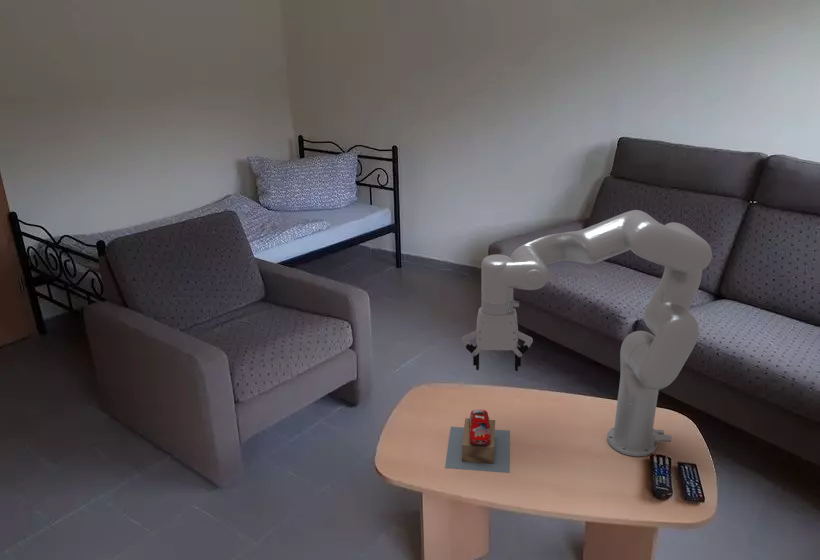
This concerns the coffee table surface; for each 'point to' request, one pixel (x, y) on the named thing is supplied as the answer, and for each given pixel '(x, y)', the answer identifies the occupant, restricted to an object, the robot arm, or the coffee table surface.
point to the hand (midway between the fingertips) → (496, 368)
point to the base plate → (499, 463)
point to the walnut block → (475, 451)
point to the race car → (479, 428)
